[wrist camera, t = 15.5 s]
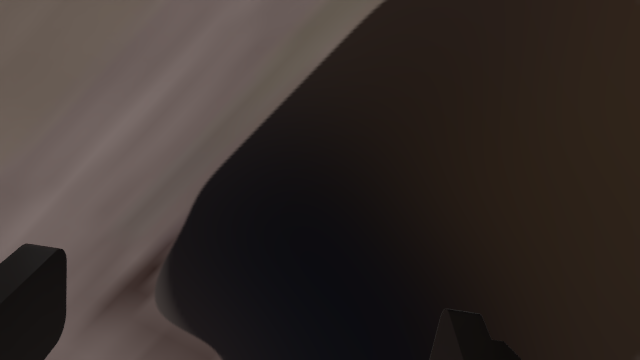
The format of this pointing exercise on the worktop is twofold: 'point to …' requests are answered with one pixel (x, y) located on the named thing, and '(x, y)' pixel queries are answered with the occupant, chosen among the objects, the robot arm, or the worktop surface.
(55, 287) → the robot arm
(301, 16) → the worktop surface
